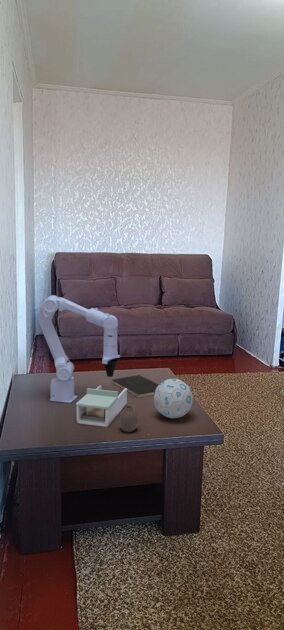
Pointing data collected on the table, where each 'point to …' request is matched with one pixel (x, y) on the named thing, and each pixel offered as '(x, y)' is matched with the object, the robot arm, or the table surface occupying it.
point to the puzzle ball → (173, 398)
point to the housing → (109, 413)
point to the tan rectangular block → (95, 412)
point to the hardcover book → (137, 385)
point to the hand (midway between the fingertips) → (110, 376)
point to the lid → (98, 398)
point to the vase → (128, 419)
